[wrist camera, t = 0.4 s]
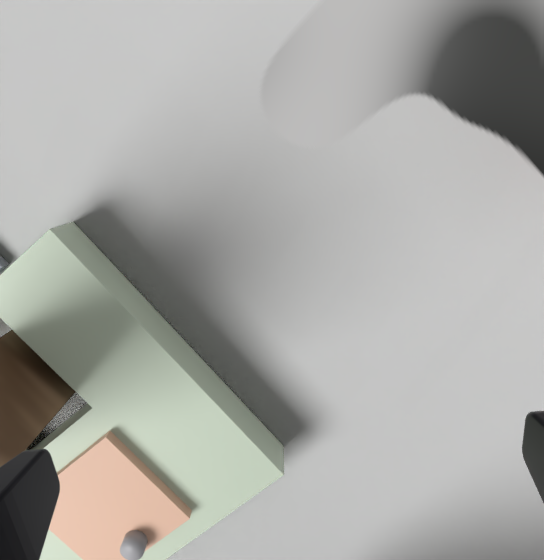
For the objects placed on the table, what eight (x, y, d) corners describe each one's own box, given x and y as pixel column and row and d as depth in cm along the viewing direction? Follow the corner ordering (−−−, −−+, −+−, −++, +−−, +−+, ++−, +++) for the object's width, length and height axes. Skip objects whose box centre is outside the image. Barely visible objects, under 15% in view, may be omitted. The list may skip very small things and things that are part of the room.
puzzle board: (283, 445, 27) (284, 492, 23) (81, 592, 29) (53, 655, 26) (73, 221, 24) (35, 233, 20) (-130, 408, 26) (-196, 449, 23)
